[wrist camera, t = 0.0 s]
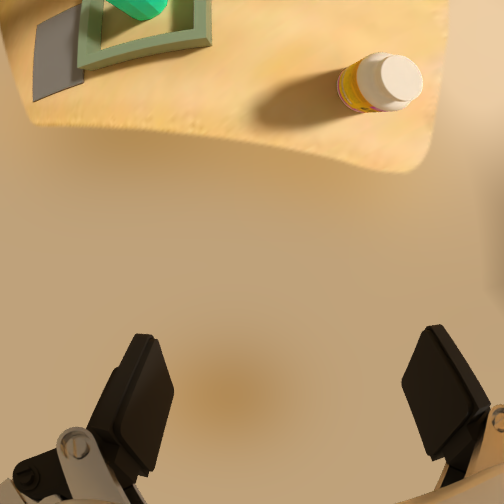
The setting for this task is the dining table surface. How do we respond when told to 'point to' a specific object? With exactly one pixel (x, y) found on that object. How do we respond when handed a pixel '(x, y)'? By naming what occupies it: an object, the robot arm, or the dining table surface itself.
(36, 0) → the dining table surface
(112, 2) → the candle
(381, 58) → the supplement bottle
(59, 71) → the rubber mat
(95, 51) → the box
